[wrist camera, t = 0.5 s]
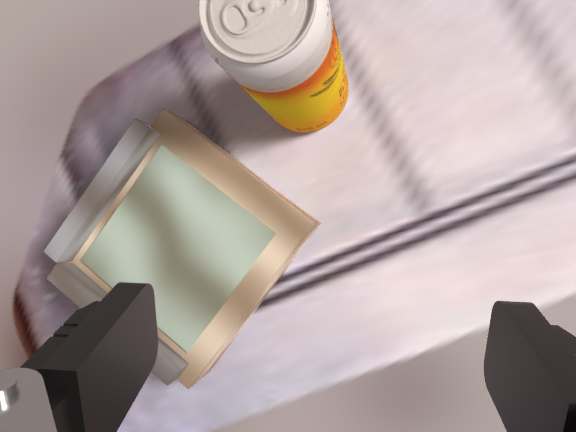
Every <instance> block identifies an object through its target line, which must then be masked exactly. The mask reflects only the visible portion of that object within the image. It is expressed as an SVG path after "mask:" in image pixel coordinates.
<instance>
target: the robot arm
mask: <svg viewBox="0 0 576 432" xmlns="http://www.w3.org/2000/svg"><path fill="white" fill-rule="evenodd" d="M157 352H158V332H157V320H156V308H155V295H154V289H153V287H152V285H151V284H149V283H128V282H119V283H117V284H116V285H115V286H114V287H113V288H112V289H111V291H110V292H109V293H108V294H107V295H106V296H105V297H104V298H103V299H102V300H101V301H94V302H92V303H90V304H89V305H87V306H85V307H83V308H81V309H79V310H77V311H76V312H75V313H74V314H73V315H72V316H71V317H70V318H69V319H68V320H67V321H66V322H65V323H64V326H61V327H60V328H59V329H58V330H57V331H56V332H55V333H54V334H53V337H50V338H49V339H48V340H47V341H46V342H45V343H44V344H43V345H42V346H41V347H40V348H39V349H38V350H37V351H36V352H35V353H34V354H33V355H32V356H31V357H30V358H29V359H28V360H27V361H26V362H25V363H24V364H23V365H22V366H21V367H20V368H10V369H4V370H0V432H117V430H118V428H119V426H120V425H121V423H122V421H123V419H124V418H125V416H126V414H127V412H128V411H129V409H130V407H131V405H132V404H133V402H134V400H135V398H136V397H137V395H138V393H139V391H140V390H141V388H142V386H143V384H144V383H145V381H146V379H147V377H148V376H149V374H150V372H151V370H152V369H153V367H154V364H155V361H156V358H157ZM484 376H485V382H486V386H487V389H488V391H489V393H490V396H491V398H492V400H493V402H494V404H495V406H496V409H497V411H498V413H499V415H500V417H501V419H502V422H503V424H504V426H505V428H506V430H507V432H576V337H575V336H573V335H572V334H570V333H569V332H567V331H566V330H564V329H562V328H561V327H559V326H558V325H550V324H549V322H548V321H547V320H546V319H545V317H544V316H543V315H542V314H541V312H540V311H539V310H538V309H537V307H536V306H535V305H534V304H533V303H530V302H509V301H496V302H495V304H494V306H493V309H492V314H491V320H490V327H489V333H488V339H487V346H486V353H485V360H484Z"/></svg>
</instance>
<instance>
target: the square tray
mask: <svg viewBox="0 0 576 432" xmlns="http://www.w3.org/2000/svg"><path fill="white" fill-rule="evenodd" d="M320 224H321V223H320V222H318V221H317V220H316V219H314V218H313V217H312V216H310V215H309V214H308V213H306V212H305V211H304V210H302V209H301V208H300V207H298V206H297V205H296V204H295V203H293V202H292V201H291V200H289V199H288V198H287V197H285V196H284V195H283V194H281V193H280V192H279V191H277V190H276V189H275V188H274V187H272V186H271V185H270V184H268V183H267V182H266V181H264V180H263V179H262V178H260V177H259V176H258V175H256V174H255V173H254V172H252V171H251V170H250V169H249V168H247V167H246V166H245V165H243V164H242V163H241V162H239V161H238V160H237V159H235V158H234V157H233V156H231V155H230V154H229V153H227V152H226V151H225V150H224V149H222V148H221V147H220V146H218V145H217V144H216V143H214V142H213V141H212V140H210V139H209V138H208V137H206V136H205V135H204V134H202V133H201V132H200V131H199V130H197V129H196V128H195V127H193V126H192V125H191V124H189V123H188V122H187V121H185V120H183V119H181V118H179V117H178V116H176V115H174V114H172V113H170V112H168V111H166V110H164V109H163V110H162V111H161V113H160V114H159V116H158V117H157V119H156V120H155V122H154V123H153V124H152V126H149V125H148V124H146V123H144V122H141V121H139V120H137V119H134V121H133V122H132V124H131V125H130V127H129V128H128V129H127V131H126V132H125V134H124V135H123V137H122V138H121V140H120V141H119V143H118V144H117V145H116V147H115V148H114V150H113V151H112V153H111V154H110V156H109V157H108V159H107V160H106V161H105V163H104V164H103V166H102V167H101V169H100V170H99V172H98V173H97V175H96V176H95V177H94V179H93V180H92V182H91V183H90V185H89V186H88V188H87V189H86V190H85V192H84V193H83V195H82V196H81V198H80V199H79V201H78V202H77V204H76V205H75V206H74V208H73V209H72V211H71V212H70V214H69V215H68V217H67V218H66V220H65V221H64V222H63V224H62V225H61V227H60V228H59V230H58V231H57V233H56V234H55V236H54V237H53V238H52V240H51V241H50V243H49V244H48V246H47V247H46V249H45V250H44V253H46V254H47V255H48V256H49V257H50V258H51V259H53V260H54V261H55V262H57V263H56V264H55V266H54V267H53V269H52V271H51V273H50V274H49V276H48V277H47V280H49V281H50V282H51V283H52V284H53V285H54V286H55V287H56V288H58V289H59V290H60V291H61V292H62V293H63V294H64V295H66V296H67V297H68V298H69V299H70V300H71V301H72V302H73V303H75V304H76V305H77V306H78V307H79V308H80V309H81V308H83V307H85V306H87V305H89V304H90V303H92V302H94V301H101V300H102V299H103V298H104V297H105V296H106V295H107V294H108V293H109V292H110V291H111V289H112V288H113V287H114V286H115V285H116V284H117V283H119V282H128V283H149V284H151V285H152V287H153V289H154V295H155V308H156V320H157V332H158V352H157V358H156V361H155V364H154V367H153V369H152V370H151V371H152V372H153V373H154V374H155V375H156V376H157V377H158V378H159V379H161V380H162V381H163V382H164V383H165V384H166V385H167V386H168V385H169V384H170V383H172V382H173V381H174V380H176V379H177V380H178V381H179V382H181V383H182V384H183V385H184V386H185V387H186V388H187V389H189V388H190V387H192V386H193V385H194V384H195V383H196V382H198V381H199V380H200V379H201V378H202V377H204V376H205V375H206V374H207V373H208V372H209V371H210V370H211V369H212V367H213V366H214V365H215V363H216V362H217V361H218V359H219V358H220V357H221V355H222V354H223V353H224V351H225V350H226V349H227V347H228V346H229V345H230V343H231V342H232V341H233V339H234V338H235V337H236V335H237V334H238V333H239V331H240V330H241V329H242V327H243V326H244V325H245V323H246V322H247V321H248V319H249V318H250V317H251V315H252V314H253V313H254V311H255V310H256V309H257V307H258V306H259V305H260V303H261V302H262V301H263V299H264V298H265V297H266V295H267V294H268V293H269V291H270V290H271V289H272V287H273V286H274V285H275V283H276V282H277V281H278V279H279V278H280V277H281V275H282V274H283V273H284V271H285V270H286V269H287V267H288V266H289V265H290V263H291V262H292V261H293V259H294V258H295V257H296V255H297V254H298V253H299V251H300V250H301V249H302V247H303V246H304V245H305V243H306V242H307V241H308V239H309V238H310V237H311V236H312V234H313V233H314V232H315V230H316V229H317V228H318V226H319V225H320Z"/></svg>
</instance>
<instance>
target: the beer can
mask: <svg viewBox="0 0 576 432" xmlns="http://www.w3.org/2000/svg"><path fill="white" fill-rule="evenodd" d="M199 26H200V32H201V37H202V40H203V42H204V45H205V47H206V49H207V51H208V52H209V54H210V55H211V57H212V58H213V59H214V60H215V62H216V63H217V64H218V65H219V66H220V67H221V68H223V69H224V70H225V71H226V72H227V73H228V74H229V75H230V76H231V77H232V78H233V79H234V80H235V81H236V82H237V83H238V84H239V85H240V86H241V87H242V88H243V89H244V90H245V91H246V92H247V93H248V94H249V95H250V96H251V97H252V98H253V99H254V100H255V101H256V102H257V103H258V104H259V105H260V106H261V107H262V108H263V109H264V110H265V111H266V112H267V113H268V114H269V115H270V116H271V117H272V118H273V119H274V120H275V121H276V122H278V123H279V124H280V125H281V126H283V127H285V128H286V129H289V130H291V131H295V132H301V133H308V132H314V131H318V130H320V129H323V128H325V127H326V126H328V125H330V124H331V123H332V122H333V121H334V120H335V119H336V118H337V117H338V116H339V115H340V113H341V112H342V110H343V108H344V106H345V104H346V101H347V97H348V79H347V75H346V71H345V67H344V63H343V59H342V55H341V51H340V46H339V42H338V38H337V34H336V30H335V26H334V22H333V18H332V14H331V10H330V6H329V1H328V0H199Z"/></svg>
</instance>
